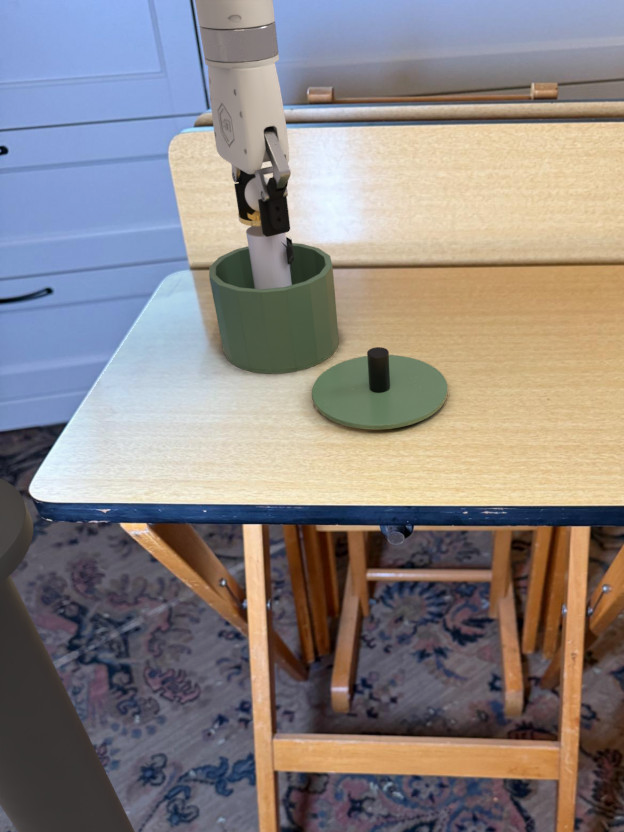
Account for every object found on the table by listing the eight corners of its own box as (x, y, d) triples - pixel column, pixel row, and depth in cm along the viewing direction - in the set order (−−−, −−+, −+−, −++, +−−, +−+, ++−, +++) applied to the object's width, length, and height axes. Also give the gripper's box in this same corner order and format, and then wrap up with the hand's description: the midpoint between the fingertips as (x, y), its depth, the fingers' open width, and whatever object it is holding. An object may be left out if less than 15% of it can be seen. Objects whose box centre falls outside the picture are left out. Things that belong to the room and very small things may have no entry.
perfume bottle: (260, 354, 99) (234, 187, 86) (256, 333, 103) (231, 172, 90) (305, 348, 100) (287, 182, 87) (300, 328, 104) (281, 167, 91)
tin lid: (354, 450, 84) (351, 404, 80) (289, 387, 94) (284, 343, 90) (474, 406, 90) (476, 360, 86) (401, 351, 100) (400, 308, 96)
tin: (252, 385, 95) (238, 302, 88) (207, 338, 104) (191, 260, 97) (358, 352, 100) (353, 271, 93) (306, 309, 110) (298, 233, 103)
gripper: (175, 37, 84) (206, 210, 96) (239, 63, 73) (266, 256, 85) (240, 29, 87) (263, 198, 99) (312, 53, 76) (328, 240, 88)
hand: (264, 223), depth 92 cm, fingers closed on perfume bottle, 5 cm apart
